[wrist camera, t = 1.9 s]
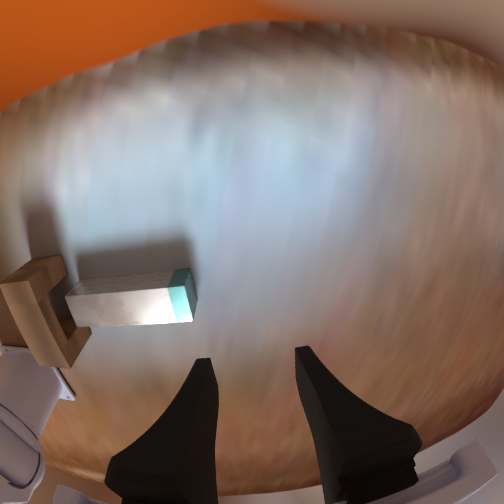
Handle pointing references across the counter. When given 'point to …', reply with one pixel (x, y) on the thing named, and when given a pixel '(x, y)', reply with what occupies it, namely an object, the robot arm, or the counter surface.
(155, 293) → the white teal bar
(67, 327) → the angled brown block
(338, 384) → the robot arm
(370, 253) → the counter surface
